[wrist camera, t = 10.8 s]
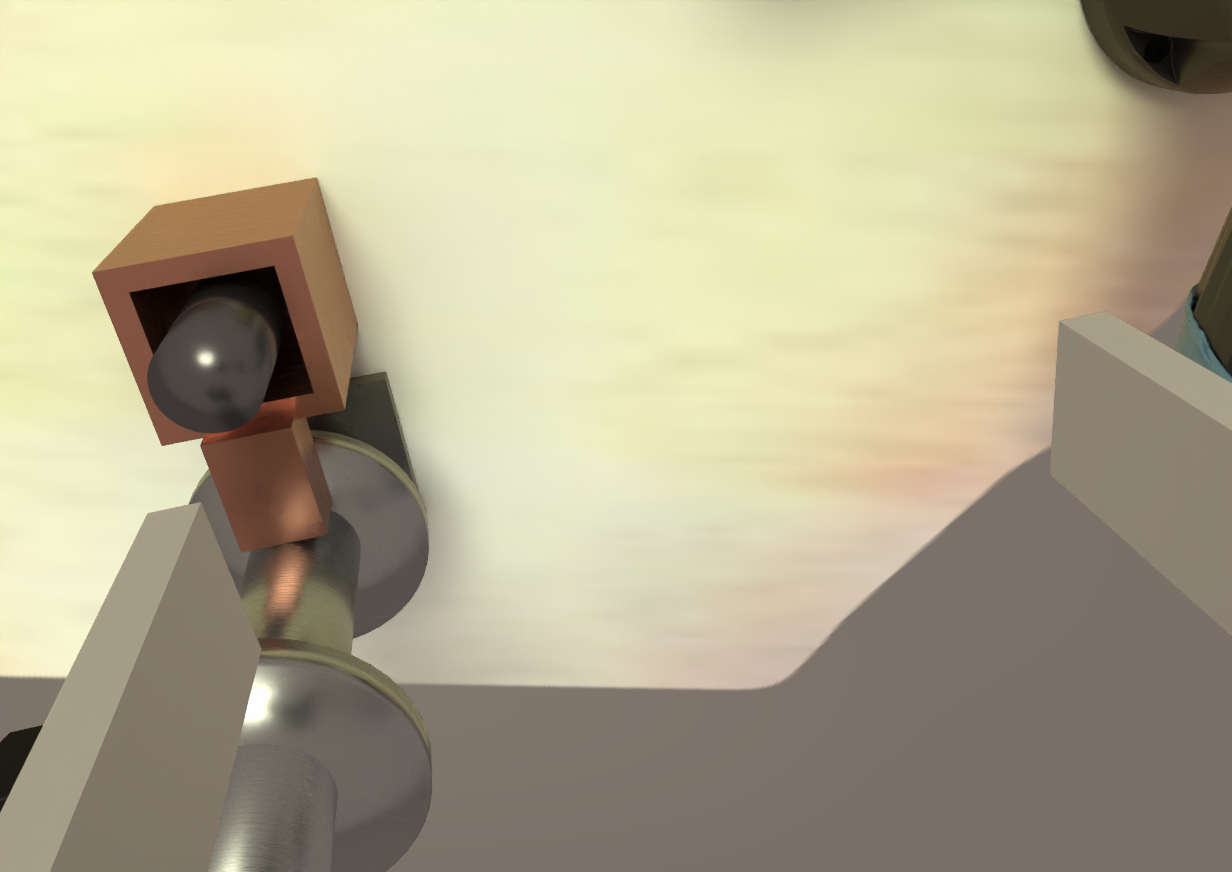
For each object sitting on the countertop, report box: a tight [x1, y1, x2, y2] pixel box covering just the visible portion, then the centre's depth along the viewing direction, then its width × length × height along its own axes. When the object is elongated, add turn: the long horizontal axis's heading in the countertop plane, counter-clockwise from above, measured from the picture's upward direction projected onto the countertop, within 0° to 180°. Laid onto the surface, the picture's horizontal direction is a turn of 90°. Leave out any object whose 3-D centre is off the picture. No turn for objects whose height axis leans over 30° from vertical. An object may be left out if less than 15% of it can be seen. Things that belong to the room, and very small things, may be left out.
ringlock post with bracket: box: [92, 178, 432, 872], centre depth 39 cm, size 11×20×29 cm, turn 8°
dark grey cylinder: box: [147, 266, 291, 434], centre depth 42 cm, size 4×4×14 cm
